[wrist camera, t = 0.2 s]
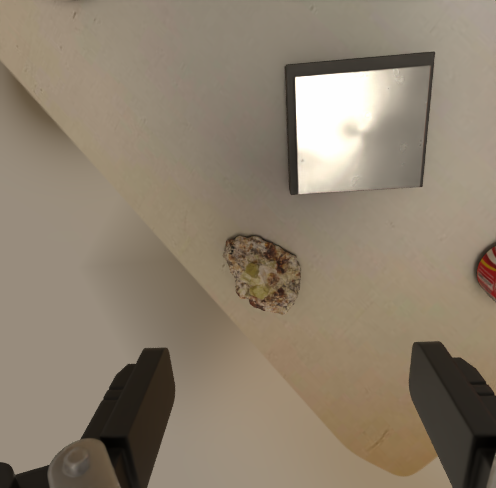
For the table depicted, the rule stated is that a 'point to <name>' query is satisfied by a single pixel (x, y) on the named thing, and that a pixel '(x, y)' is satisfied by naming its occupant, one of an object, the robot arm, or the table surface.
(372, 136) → the scale
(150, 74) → the table surface
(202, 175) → the table surface
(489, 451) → the robot arm
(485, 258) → the soda can
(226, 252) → the mineral rock
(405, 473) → the table surface
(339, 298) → the table surface
